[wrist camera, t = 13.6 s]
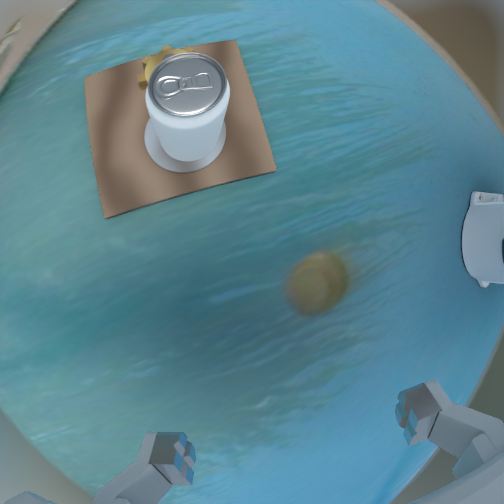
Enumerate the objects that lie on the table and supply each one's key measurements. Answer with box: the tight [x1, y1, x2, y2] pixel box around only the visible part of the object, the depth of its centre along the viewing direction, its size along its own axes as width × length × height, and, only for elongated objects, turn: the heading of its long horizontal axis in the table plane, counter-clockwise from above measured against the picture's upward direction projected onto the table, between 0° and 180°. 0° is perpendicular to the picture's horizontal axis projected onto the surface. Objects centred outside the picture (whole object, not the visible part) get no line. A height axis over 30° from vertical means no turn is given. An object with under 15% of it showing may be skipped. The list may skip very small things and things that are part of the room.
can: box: [145, 52, 230, 162], centre depth 23 cm, size 6×6×12 cm
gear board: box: [84, 40, 277, 219], centre depth 27 cm, size 20×19×6 cm
